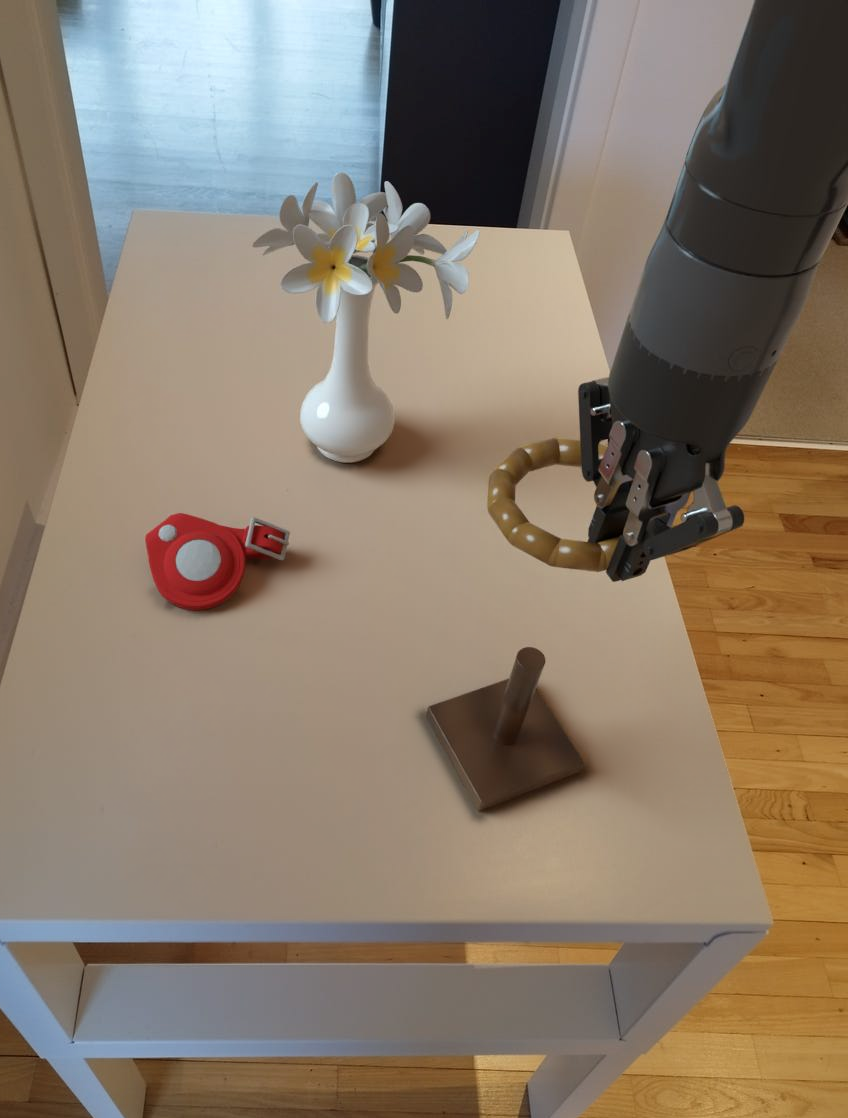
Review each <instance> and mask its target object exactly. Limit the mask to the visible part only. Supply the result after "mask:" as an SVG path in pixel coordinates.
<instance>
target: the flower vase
mask: <svg viewBox="0 0 848 1118" xmlns="http://www.w3.org/2000/svg"><path fill="white" fill-rule="evenodd" d="M318 186H319V182H315V183H314V184H313V185H312V186H311V187H310V188H309V190H308V191H307V192H306V194H305V196H304V198H303V200H302V203H301V207H300V205H299V202H298V200H297V198H296V196H295V195H293V194H289V195H287V197H286V198H285V199H284V200H283V201H282V204H281V206H280V209H279V214H278V216H279V217H278V218H279V222H280V224H281V226H282V227H283V228H280V227H277V228H275V227H274V228H272V229H269V230H267V231H265V232H264V233H262V234H261V235H259V236H258V237H257V238H256V239H255V240H254V241H253V243H252V248H253V249H255V248H264V247H265V249H264V251H263V252H262V254H261V255H262V256H266V255H269V254H270V253H273V252H276V251H278V250H281V249H283V248H284V249H285V248H287V247H293V246H295V247H296V249H297V251H298V252H299V254H300V255H301V256H302V257H303V259H305V261H308V262H305V263H301V264H299V265H296V266H293V267H292V268H291V269H289V270H287V271H286V272H285V273H284V275H283V276H281V277H282V278H281V279H280V286H281V289H282V291H284V292H285V293H288V294H295V295H296V294H304V293H306V292H309V291H312V290H314V289H316V291H315V308H316V313H317V315H318V317H319V319H320V320H321V322H323V323H325V324H330V323H332V322H333V321H334V320H335V330H334V344H333V353H332V360H331V364H330V368H329V370H328V372H327V374H326V376H325V378H324V379H322V380H321V381H319V382H317V383H316V384H315V385H314V386H313V387H312V388H311V389H310V390H309V391H308V392H307V393H306V395H305V396H304V399H303V401H302V404H301V406H300V410H299V423H300V426H301V428H302V431H303V433H304V435H305V436H306V437H307V438H308V439H309V441H310V442H311V443H313V445H315V446H316V448H317V450H318V451H319V452H320V453H321V455H322V456H324V457H326V458H327V459H330V460H332V461H334V462H338V463H343V464H345V463H347V464H348V463H350V464H352V463H358V462H361V461H364V460H366V459H367V458H369V457H370V456H371V455H372V454H373V453H374V452H375V450H377V449H378V448H380V447H381V446H383V445H384V444H385V442H386V441H387V440H388V439H389V437H390V436H391V435H392V433H393V430H394V427H395V425H396V423H395V422H396V417H395V409H394V406H393V403H392V401H391V399H390V398H389V395H388V394H387V393H386V392H385V391H384V389H383V388H382V387H381V386H380V385H379V384H377V383H376V382H375V380H374V379H373V376H372V374H371V370H370V364H369V337H370V335H369V334H370V331H369V330H370V314H371V308H372V304H373V299H374V295H375V291H376V287H377V285H378V284H379V286H380V287H381V289H382V291H383V294H384V297H385V298H386V301H387V303H388V305H389V307H390V310H391V311H392V313H393V314H397V315H398V314H399V313H400V311H401V309H402V297H401V293H400V290H399V287H400V288H402V289H404V290H406V291H409V292H411V293H420V292H421V291H422V290H423V287H424V283H423V280H422V278H421V276H420V275H419V273H418V272H417V270H416V269H414V268H413V267H412V266H411V265H409V264H407V263H405V262H417V263H423V264H425V265H428V266H431V267H433V268H434V271H435V274H436V277H437V280H438V284H439V287H440V291H441V297H442V300H443V307H444V314H445V319H446V320H449V318H450V315H451V311H452V306H453V291H452V289H453V290H454V291H455V292H456V293H458V294H460V295H463V294H465V293H466V291H467V290H468V287H469V284H470V275H469V270H468V269H467V267H466V266H465V265H463V264H462V263H459V262H461V261H463V260H465V259H466V258H467V257H468V256H469V255H470V254H471V252H473V249H474V247H475V246H476V244H477V241H478V240H479V237H480V233H481V232H480V229H479V228H478V229H476V230H474V232H472V233H470V235H468V233H469V231H468V230H466V231H464V233H463V235H461V237H460V238H459V239H458V240H457V241H456V242H455V244H454V245H452V246H451V248H448V250H447V248H446V247H445V246H444V245H443V243H441V242H440V241H439V240H438V239H437V238H435V237H434V236H432V235H430V234H427V233H422V232H423V230H424V229H425V228H426V227H427V226H428V225H429V224H430V221H431V211H430V209H429V207H427V205H425V204H424V203H422V202H415V203H412V204H411V205H410V206H409V207H407V208H406V210H405V211H404V212H403V209H404V208H403V203H402V200H401V197H400V195H399V193H398V192H397V190H396V188H395V187H394V186H393V185H392V183H391V182H389V181H388V180H387V181H386V180H385V181H384V191H385V192H383V191H378V192H373V193H370V194H367V195H366V196H365V197H363V198H362V199H361V200H360V201H359V202H357V193H356V189H355V185H354V183H353V181H352V179H351V178H350V176H349V175H348V174H346V173H345V172H343V171H341V172H337V173H335V175H334V176H333V177H332V180H331V187H330V190H331V191H330V194H331V200H332V205H331V204H330V203H328V202H326V201H323V200H319V199H315V197H316V194H317V190H318ZM382 212H383V213H382ZM374 218H375V224H374V223H372V222H371V220H372V219H374ZM310 220H311V221H312V222H313V223H314V224H315V225H316V226H317V227H318V228H319V229H320V230H321V231H323V232H324V233H317V232H316V231H315V230H313V229H312V228H310V227H309V226H310ZM390 236H391V238H390ZM411 250H413V251H415V252H416V253H418V254H420V255H413V254H412V255H411V254H410V252H411ZM425 251H428V252H429V251H430V252H432V253H436V254H439V255H441V256H440V257H439V258H437V259H432V258H429V257H426V256H423V255H425ZM371 252H372V254H371V255H370V256H369V257H367V256H365V255H357V253H371ZM421 255H422V256H421Z"/></svg>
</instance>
